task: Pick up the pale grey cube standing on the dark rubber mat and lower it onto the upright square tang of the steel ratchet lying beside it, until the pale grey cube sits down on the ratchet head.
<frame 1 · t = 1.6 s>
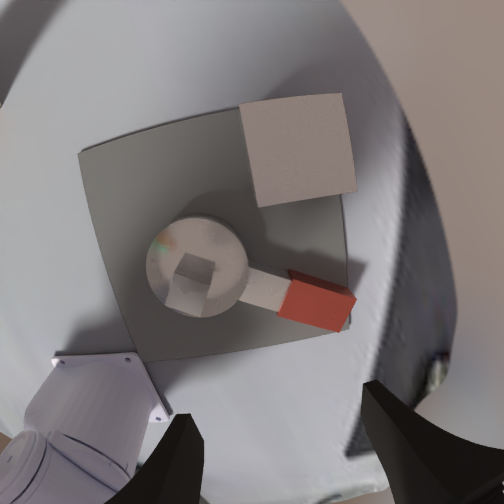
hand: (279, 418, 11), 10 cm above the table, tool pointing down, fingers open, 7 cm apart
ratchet: (200, 260, 19), resting on mat
pale grey cube: (284, 150, 17), resting on mat
mat: (218, 244, 19), on the table
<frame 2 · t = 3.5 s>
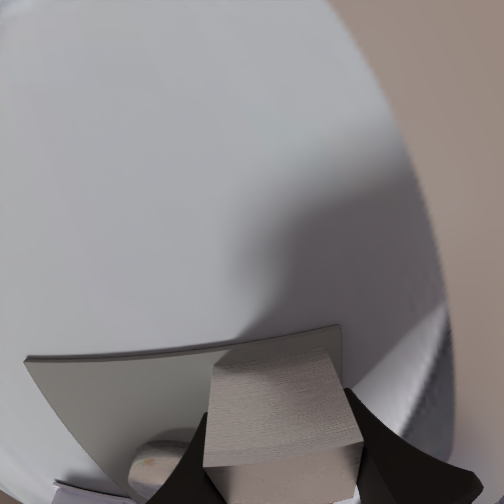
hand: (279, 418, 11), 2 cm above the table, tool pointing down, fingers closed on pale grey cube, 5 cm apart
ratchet: (183, 467, 14), resting on mat
pale grey cube: (276, 395, 12), resting on mat, touching gripper
mat: (200, 457, 14), on the table
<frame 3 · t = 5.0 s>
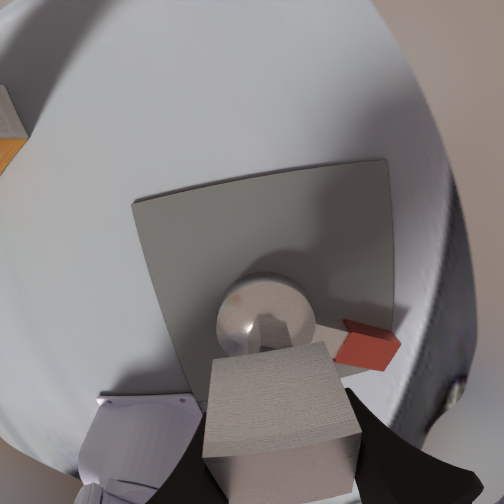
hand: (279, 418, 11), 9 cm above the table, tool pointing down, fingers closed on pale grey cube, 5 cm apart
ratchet: (264, 314, 19), resting on mat
pale grey cube: (275, 390, 12), point 8 cm above the table, touching gripper
mat: (281, 299, 20), on the table
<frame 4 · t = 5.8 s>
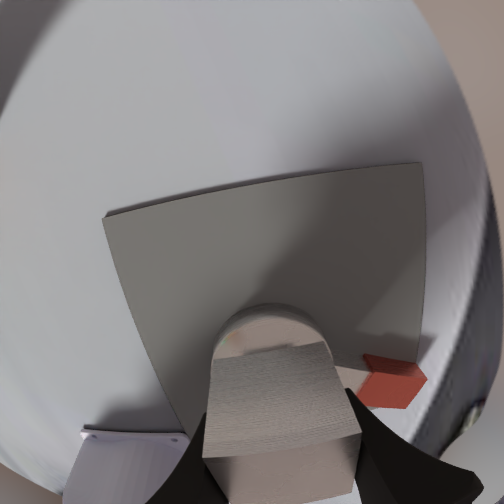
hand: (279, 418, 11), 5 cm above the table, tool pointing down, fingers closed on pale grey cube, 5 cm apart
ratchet: (269, 351, 15), resting on mat
pale grey cube: (275, 390, 12), point 4 cm above the table, touching gripper
mat: (290, 334, 16), on the table
when the fingers open (4 cm above the table, at t = 6.4 s): pale grey cube stays where it is, resting on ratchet.
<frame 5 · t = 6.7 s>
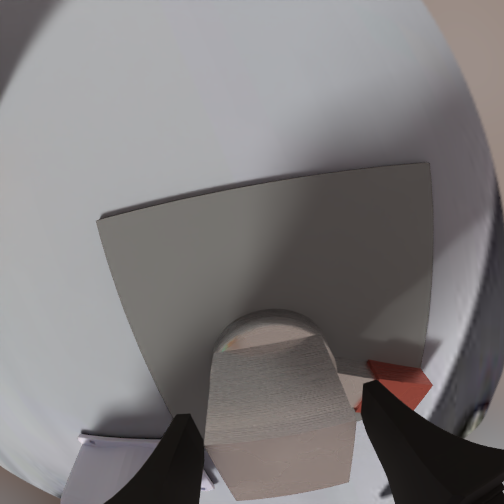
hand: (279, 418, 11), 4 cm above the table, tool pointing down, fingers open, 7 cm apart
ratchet: (270, 358, 15), resting on mat, touching pale grey cube
pale grey cube: (274, 382, 13), point 2 cm above the table, touching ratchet
mat: (293, 340, 15), on the table
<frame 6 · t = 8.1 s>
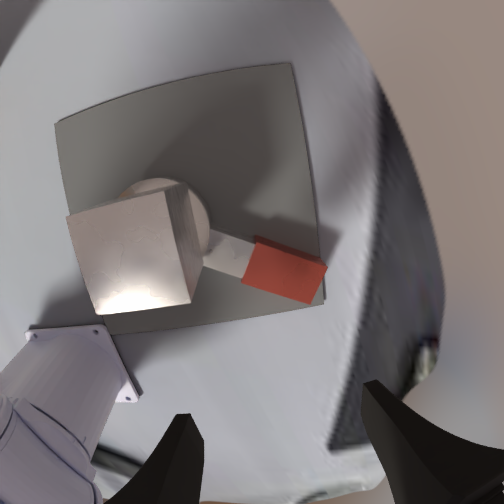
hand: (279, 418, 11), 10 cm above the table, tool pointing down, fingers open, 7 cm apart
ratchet: (164, 224, 18), resting on mat, touching pale grey cube
pale grey cube: (155, 230, 16), point 2 cm above the table, touching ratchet
mat: (182, 209, 18), on the table
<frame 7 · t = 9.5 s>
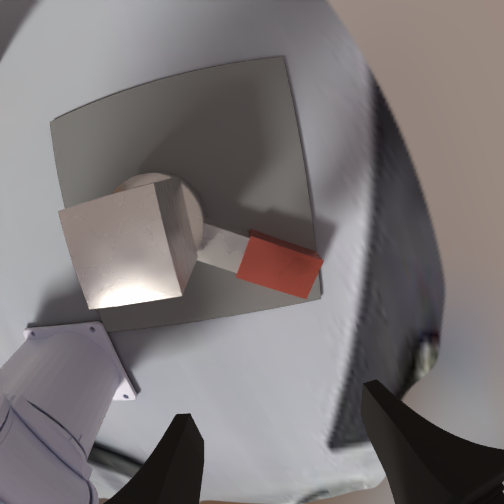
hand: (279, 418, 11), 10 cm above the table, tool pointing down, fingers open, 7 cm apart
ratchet: (159, 220, 18), resting on mat, touching pale grey cube
pale grey cube: (149, 225, 16), point 2 cm above the table, touching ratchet
mat: (177, 204, 18), on the table
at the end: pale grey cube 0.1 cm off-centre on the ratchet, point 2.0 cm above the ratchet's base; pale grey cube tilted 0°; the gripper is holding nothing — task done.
